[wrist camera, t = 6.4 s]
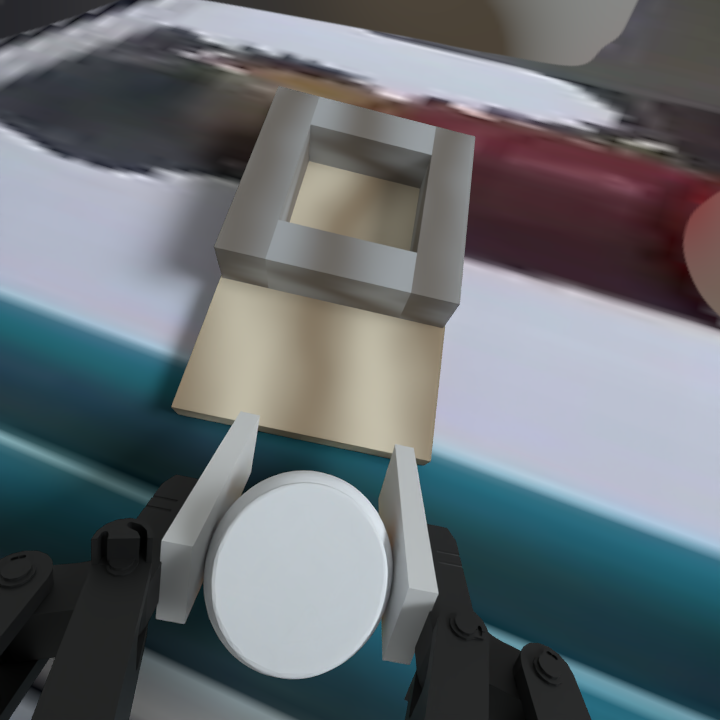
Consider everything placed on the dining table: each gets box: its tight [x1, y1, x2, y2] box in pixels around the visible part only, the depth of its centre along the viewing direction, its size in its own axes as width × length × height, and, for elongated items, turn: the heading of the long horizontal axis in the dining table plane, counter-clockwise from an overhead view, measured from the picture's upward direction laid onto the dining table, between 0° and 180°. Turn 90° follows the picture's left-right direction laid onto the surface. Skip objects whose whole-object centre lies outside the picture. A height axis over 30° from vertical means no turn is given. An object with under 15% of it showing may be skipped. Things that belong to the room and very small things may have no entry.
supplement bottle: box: [203, 470, 393, 679], centre depth 14 cm, size 5×5×10 cm
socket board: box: [171, 86, 475, 465], centre depth 23 cm, size 12×22×4 cm, turn 170°
